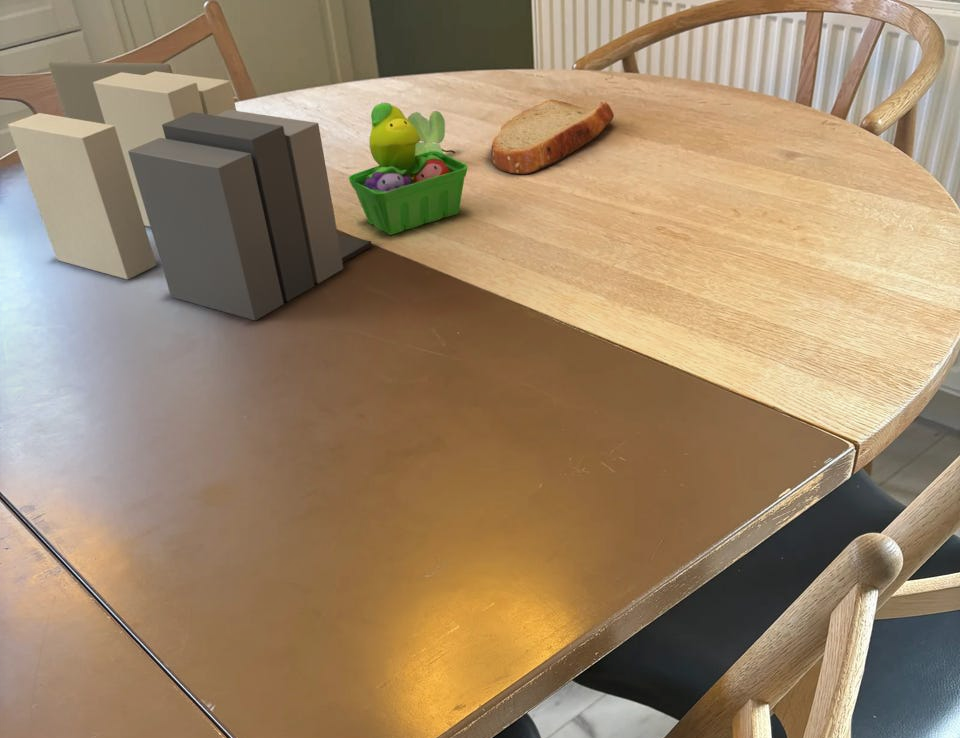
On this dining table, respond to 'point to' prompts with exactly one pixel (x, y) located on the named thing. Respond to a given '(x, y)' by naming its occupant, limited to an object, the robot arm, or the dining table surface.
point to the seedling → (429, 132)
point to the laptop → (91, 84)
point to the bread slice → (546, 135)
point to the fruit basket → (406, 177)
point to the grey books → (241, 210)
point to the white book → (84, 193)
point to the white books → (156, 107)
